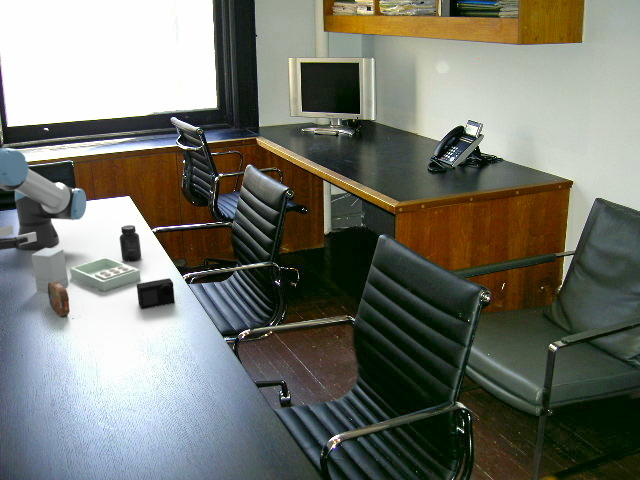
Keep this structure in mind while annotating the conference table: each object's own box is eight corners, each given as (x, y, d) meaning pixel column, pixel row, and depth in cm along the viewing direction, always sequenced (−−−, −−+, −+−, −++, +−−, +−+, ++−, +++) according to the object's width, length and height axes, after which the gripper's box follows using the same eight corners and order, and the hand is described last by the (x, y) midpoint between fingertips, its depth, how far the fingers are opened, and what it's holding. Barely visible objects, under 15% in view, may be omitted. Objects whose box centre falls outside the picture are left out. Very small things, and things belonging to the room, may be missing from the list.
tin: (48, 304, 244) (44, 279, 241) (58, 302, 246) (55, 276, 243) (62, 320, 232) (58, 294, 229) (72, 318, 234) (69, 291, 231)
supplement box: (69, 285, 259) (64, 249, 255) (55, 293, 252) (50, 256, 248) (50, 283, 261) (45, 247, 257) (36, 291, 255) (30, 254, 251)
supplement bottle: (144, 255, 285) (140, 224, 281) (138, 262, 278) (134, 230, 275) (125, 255, 286) (122, 224, 282) (119, 262, 279) (115, 229, 275)
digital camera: (142, 311, 237) (140, 289, 235) (138, 304, 242) (136, 283, 240) (176, 304, 241) (174, 283, 239) (171, 298, 246) (169, 277, 244)
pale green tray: (71, 277, 265) (70, 267, 264) (107, 266, 275) (106, 257, 274) (103, 292, 252) (102, 281, 251) (140, 279, 262) (139, 269, 261)
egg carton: (96, 283, 258) (94, 271, 256) (124, 274, 265) (123, 262, 264) (106, 288, 254) (104, 275, 253) (134, 278, 261) (133, 266, 260)
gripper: (-62, 253, 238) (4, 238, 253) (-21, 268, 222) (47, 251, 238) (-66, 229, 236) (1, 215, 251) (-24, 242, 220) (44, 227, 236)
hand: (23, 232), depth 245 cm, fingers open, 13 cm apart
